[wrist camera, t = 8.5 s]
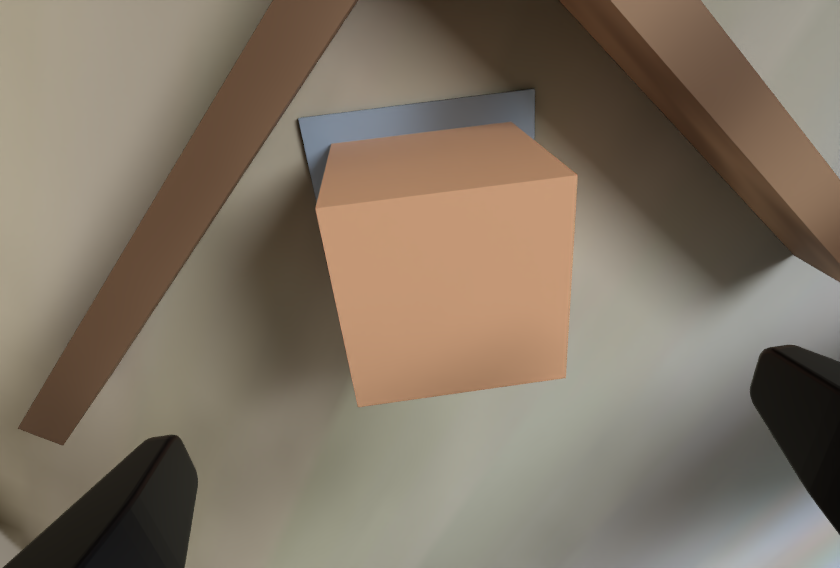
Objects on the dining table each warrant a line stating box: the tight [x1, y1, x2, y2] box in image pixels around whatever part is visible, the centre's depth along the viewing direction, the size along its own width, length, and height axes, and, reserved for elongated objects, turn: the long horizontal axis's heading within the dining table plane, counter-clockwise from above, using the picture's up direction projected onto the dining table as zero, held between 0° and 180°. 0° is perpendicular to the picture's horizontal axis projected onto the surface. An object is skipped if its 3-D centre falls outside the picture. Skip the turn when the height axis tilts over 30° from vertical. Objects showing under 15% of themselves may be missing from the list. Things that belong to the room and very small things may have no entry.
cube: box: [315, 122, 578, 407], centre depth 13 cm, size 5×5×5 cm
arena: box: [18, 0, 840, 445], centre depth 15 cm, size 17×19×3 cm
